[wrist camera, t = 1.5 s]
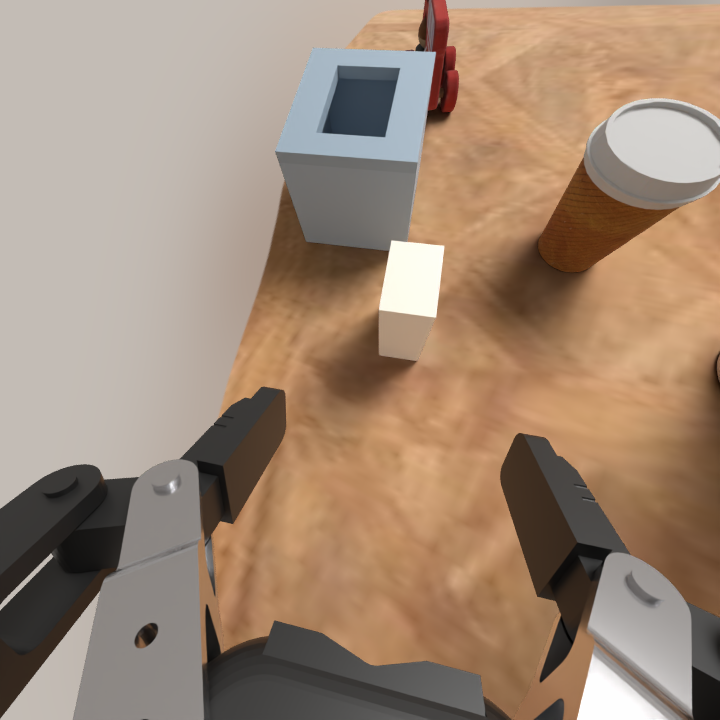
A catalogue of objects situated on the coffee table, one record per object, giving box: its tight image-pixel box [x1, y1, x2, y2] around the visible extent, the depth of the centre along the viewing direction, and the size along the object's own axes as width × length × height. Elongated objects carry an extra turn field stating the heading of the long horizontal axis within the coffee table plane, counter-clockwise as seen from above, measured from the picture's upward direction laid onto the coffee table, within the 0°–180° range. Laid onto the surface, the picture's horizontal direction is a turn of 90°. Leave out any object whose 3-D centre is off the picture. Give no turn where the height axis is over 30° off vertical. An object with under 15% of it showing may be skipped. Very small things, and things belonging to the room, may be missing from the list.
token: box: [379, 240, 444, 361], centre depth 26 cm, size 6×4×10 cm, turn 170°
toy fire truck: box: [406, 0, 459, 112], centre depth 37 cm, size 7×12×10 cm, turn 179°
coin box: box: [275, 48, 436, 251], centre depth 31 cm, size 14×12×11 cm
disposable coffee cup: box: [538, 99, 720, 272], centre depth 27 cm, size 10×10×12 cm
